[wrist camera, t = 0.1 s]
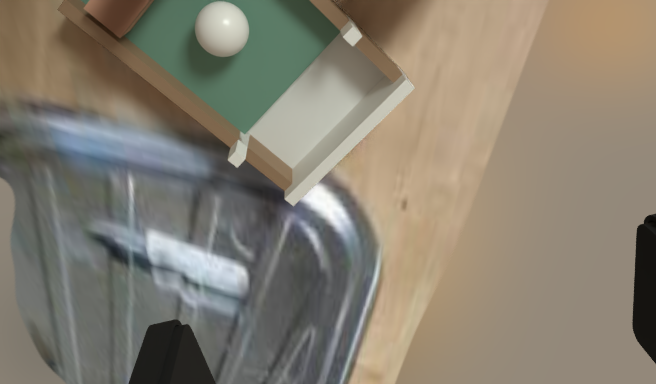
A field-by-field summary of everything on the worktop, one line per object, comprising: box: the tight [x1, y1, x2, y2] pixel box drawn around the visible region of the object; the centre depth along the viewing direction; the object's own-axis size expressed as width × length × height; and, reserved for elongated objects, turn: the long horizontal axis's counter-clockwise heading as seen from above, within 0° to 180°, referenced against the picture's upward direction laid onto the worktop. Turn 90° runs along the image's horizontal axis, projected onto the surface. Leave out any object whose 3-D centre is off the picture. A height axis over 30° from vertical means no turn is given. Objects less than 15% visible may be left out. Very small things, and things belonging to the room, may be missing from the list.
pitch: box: [57, 0, 415, 206], centre depth 42 cm, size 23×14×6 cm, turn 46°
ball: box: [195, 1, 249, 57], centre depth 41 cm, size 4×4×4 cm
